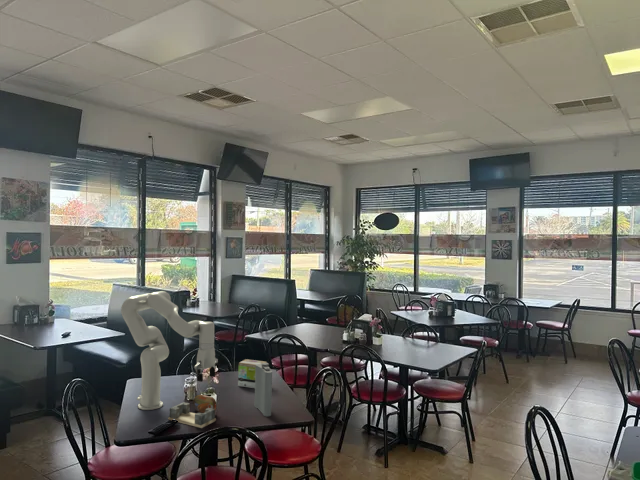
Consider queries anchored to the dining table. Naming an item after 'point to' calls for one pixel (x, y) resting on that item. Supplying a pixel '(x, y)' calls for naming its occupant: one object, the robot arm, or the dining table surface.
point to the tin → (204, 403)
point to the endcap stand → (191, 415)
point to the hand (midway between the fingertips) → (206, 378)
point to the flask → (263, 388)
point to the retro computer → (247, 373)
